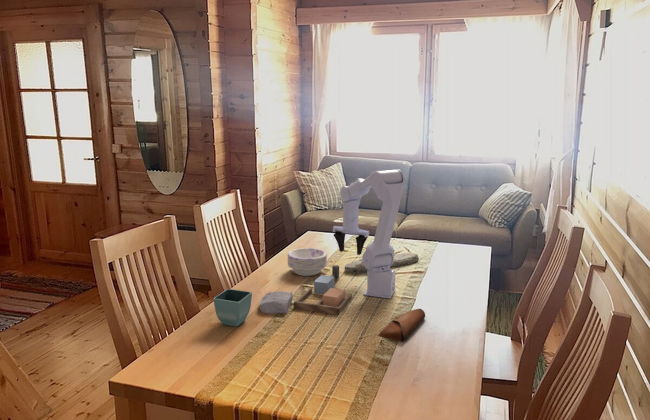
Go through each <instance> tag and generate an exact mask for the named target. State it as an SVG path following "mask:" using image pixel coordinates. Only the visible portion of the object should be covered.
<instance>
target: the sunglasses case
mask: <svg viewBox="0 0 650 420" xmlns="http://www.w3.org/2000/svg"><path fill="white" fill-rule="evenodd" d="M425 318H426V312H425V311H424V309H423V308H416V309H412V310H408V311H406V312H404V313H400V314H398V315H397V316H395V317H394V318H392V320H391V321H390V322H388V324H387V325H386V326H385V327H384V328H383V329H382V330H380V332H379V333H378V337H380V338H386V339H389V340H393V341H397V342H401V343H403V342H405V341H406V340H407V339H408V337H409V336H410V335H411V334H412V333H413V331H414V330H415V329H416V328H417V327H418V326H419V324H421V323H422V322H423V320H425Z"/></svg>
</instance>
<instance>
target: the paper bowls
mask: <svg viewBox="0 0 650 420" xmlns="http://www.w3.org/2000/svg"><path fill="white" fill-rule="evenodd" d="M327 259H328V255H327V252H326V251H325V250H322V249H319V248H315V247H301V248H295V249H291V250H289V251H288V252H287V266H288V267H289V268H290V269H292V271H293V272H294V274H295V275H299V276H303V277H306V276H307V277H311V276H316V275H318V274H320V273H321V271H322V270H323V269H324V268H326V267H327V265H328V264H327V262H328V260H327Z"/></svg>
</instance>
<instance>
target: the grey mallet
mask: <svg viewBox="0 0 650 420" xmlns="http://www.w3.org/2000/svg"><path fill="white" fill-rule="evenodd" d="M331 271H332V273H331V275H324V274H321V275H320V276H319V277H318V278H316V279H315V280H314V281H313V290H314V291H313V294H314V293H315V294H316V295H321V294H322V295H321V296H323V295H324V294H325V293H326V292H327V291H328V290H329V289H330V288H335V280H338V279H340V266H339V264H334V265H332V267H331ZM315 294H314V295H315Z"/></svg>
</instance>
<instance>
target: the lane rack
mask: <svg viewBox="0 0 650 420" xmlns="http://www.w3.org/2000/svg"><path fill="white" fill-rule="evenodd" d="M311 295H313V288H308V289H307V290H306V291H305V292H304V293H303V294H302V295H301V296H299V298H298V299H296V300H294V301H293V309H295V308H297V309H296V310H302V309H303V310H304V311H311V312H318V313H323V314H331V315H337V316H339V315H340V314H341V313H342V312H343V310H344V309H345V308H346V307H347V305H349V303H350V302H351V301H352V299H353V293H349V294H348V295H347V296H345V300H344V301H343V302H342V303H341V304H340V306H339V307H333V306H326V305H323V297H322V298H321V299H320V300H319V301H318V302H317V303H313V302H305V301H306V300H307V299H308V298H309V297H310V296H311ZM306 298H307V299H306ZM305 299H306V300H305ZM304 300H305V301H304ZM303 301H304V302H303ZM303 310H302V311H303Z"/></svg>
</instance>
